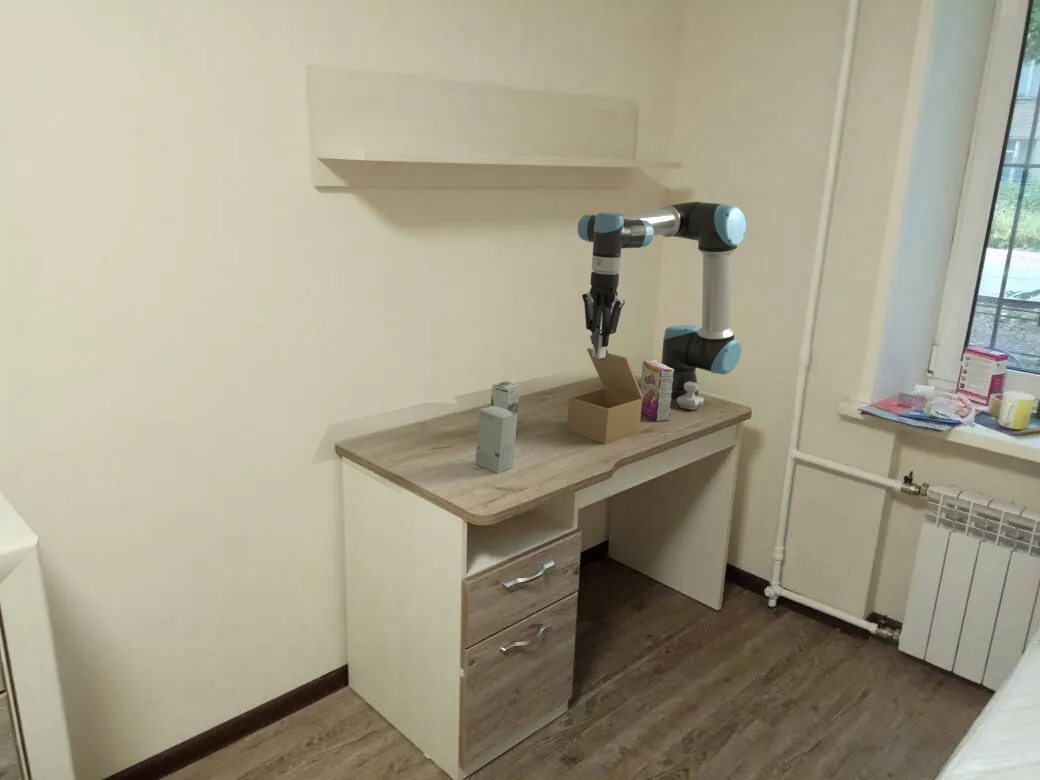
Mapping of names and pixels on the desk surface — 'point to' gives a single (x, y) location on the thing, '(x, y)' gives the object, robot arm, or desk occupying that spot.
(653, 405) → the candy bar box
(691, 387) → the stamp
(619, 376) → the flap
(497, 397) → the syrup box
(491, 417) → the skincare box
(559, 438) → the desk surface
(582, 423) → the carton
